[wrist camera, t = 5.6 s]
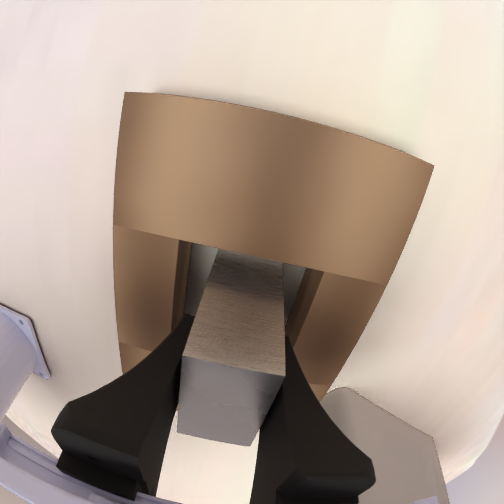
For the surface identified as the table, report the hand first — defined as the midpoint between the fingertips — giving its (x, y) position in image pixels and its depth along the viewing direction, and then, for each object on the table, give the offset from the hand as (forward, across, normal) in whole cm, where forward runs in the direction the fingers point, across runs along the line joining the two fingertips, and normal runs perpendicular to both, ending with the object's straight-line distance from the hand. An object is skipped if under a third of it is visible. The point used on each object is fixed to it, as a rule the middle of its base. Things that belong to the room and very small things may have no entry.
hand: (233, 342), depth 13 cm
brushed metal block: (+4, 0, 0) cm, 4 cm away
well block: (+4, 0, 0) cm, 4 cm away
